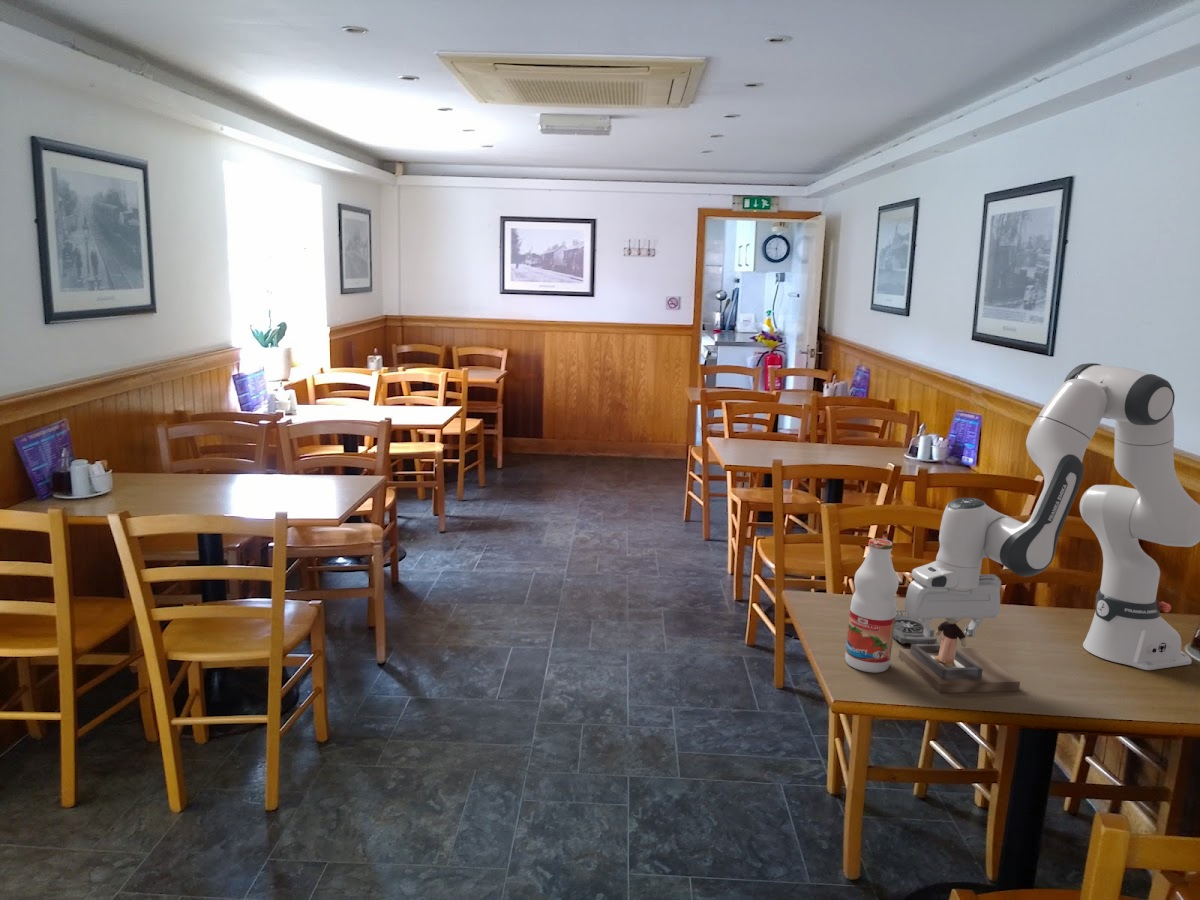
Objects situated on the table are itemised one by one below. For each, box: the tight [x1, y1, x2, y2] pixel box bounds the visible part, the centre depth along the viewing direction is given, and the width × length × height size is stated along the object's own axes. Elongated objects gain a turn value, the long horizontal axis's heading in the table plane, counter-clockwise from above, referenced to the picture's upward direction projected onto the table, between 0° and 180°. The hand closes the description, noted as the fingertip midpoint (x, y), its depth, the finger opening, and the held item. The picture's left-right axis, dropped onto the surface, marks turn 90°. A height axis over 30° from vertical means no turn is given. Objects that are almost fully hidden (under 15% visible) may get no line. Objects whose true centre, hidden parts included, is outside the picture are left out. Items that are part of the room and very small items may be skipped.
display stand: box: [898, 643, 1021, 694], centre depth 186 cm, size 18×17×4 cm
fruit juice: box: [844, 537, 899, 674], centre depth 186 cm, size 9×9×28 cm
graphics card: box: [893, 609, 938, 644], centre depth 207 cm, size 17×4×12 cm
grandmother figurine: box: [934, 618, 967, 667], centre depth 184 cm, size 8×4×13 cm, turn 39°
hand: (948, 636), depth 184 cm, fingers open, 8 cm apart
